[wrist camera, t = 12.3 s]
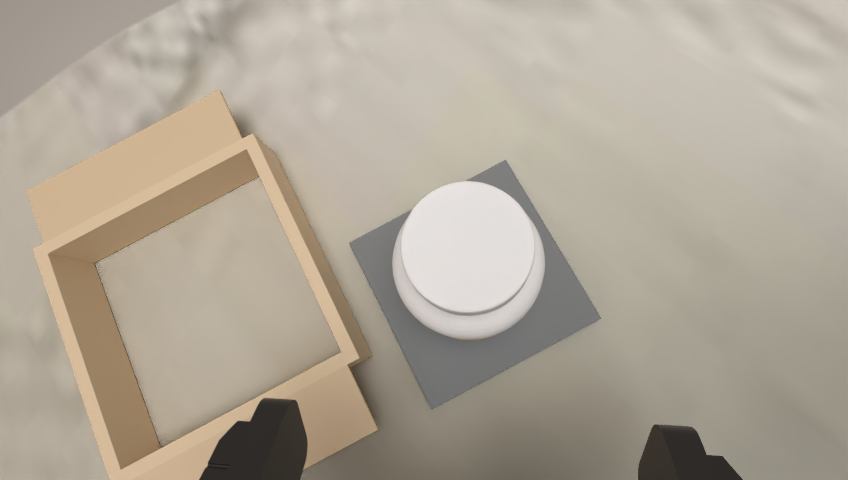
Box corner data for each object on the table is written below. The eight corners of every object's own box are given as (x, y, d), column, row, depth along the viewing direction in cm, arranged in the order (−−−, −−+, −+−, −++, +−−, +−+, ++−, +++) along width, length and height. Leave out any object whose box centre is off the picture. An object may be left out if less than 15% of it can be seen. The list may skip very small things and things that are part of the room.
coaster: (504, 163, 26) (505, 159, 25) (597, 318, 24) (601, 318, 23) (351, 245, 25) (349, 242, 25) (432, 407, 23) (431, 409, 23)
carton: (255, 111, 27) (229, 84, 25) (400, 412, 24) (390, 423, 21) (64, 211, 27) (15, 196, 24) (177, 532, 23) (135, 559, 20)
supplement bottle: (542, 255, 24) (590, 199, 14) (498, 359, 23) (518, 374, 13) (440, 212, 25) (421, 133, 15) (395, 311, 24) (345, 294, 14)
